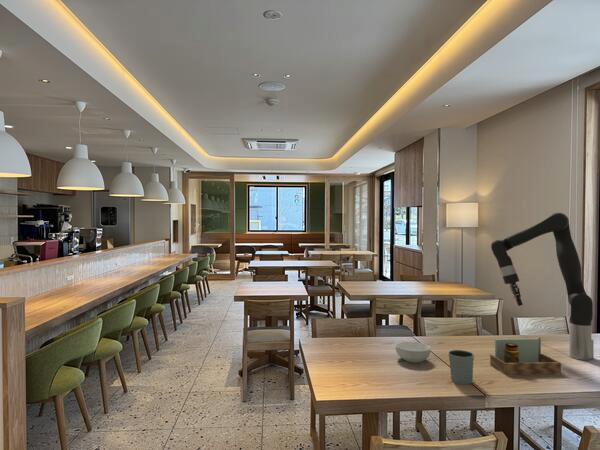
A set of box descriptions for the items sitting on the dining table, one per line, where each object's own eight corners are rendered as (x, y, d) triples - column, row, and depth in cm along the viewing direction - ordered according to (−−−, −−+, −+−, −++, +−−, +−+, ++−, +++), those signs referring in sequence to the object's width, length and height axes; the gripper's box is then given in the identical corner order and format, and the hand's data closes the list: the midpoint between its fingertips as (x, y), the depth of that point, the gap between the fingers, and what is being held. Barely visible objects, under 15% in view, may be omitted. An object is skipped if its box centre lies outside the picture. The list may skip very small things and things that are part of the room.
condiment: (523, 371, 185) (523, 345, 185) (506, 372, 183) (506, 346, 183) (512, 366, 192) (512, 341, 192) (496, 367, 190) (496, 342, 191)
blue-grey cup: (477, 385, 168) (477, 357, 169) (453, 385, 169) (453, 356, 169) (468, 376, 179) (468, 349, 179) (445, 376, 179) (445, 349, 179)
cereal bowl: (436, 359, 201) (436, 345, 201) (421, 368, 189) (421, 353, 189) (405, 352, 213) (405, 339, 213) (389, 360, 201) (389, 346, 201)
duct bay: (542, 364, 195) (542, 353, 195) (561, 373, 182) (561, 362, 182) (490, 365, 194) (490, 354, 194) (505, 374, 181) (505, 363, 181)
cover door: (539, 363, 196) (539, 337, 196) (541, 364, 195) (541, 338, 195) (494, 364, 195) (494, 337, 195) (496, 364, 194) (496, 338, 194)
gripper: (518, 271, 216) (530, 303, 211) (514, 274, 228) (525, 304, 223) (503, 275, 218) (514, 306, 213) (500, 277, 230) (511, 307, 225)
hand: (520, 305), depth 218 cm, fingers closed
